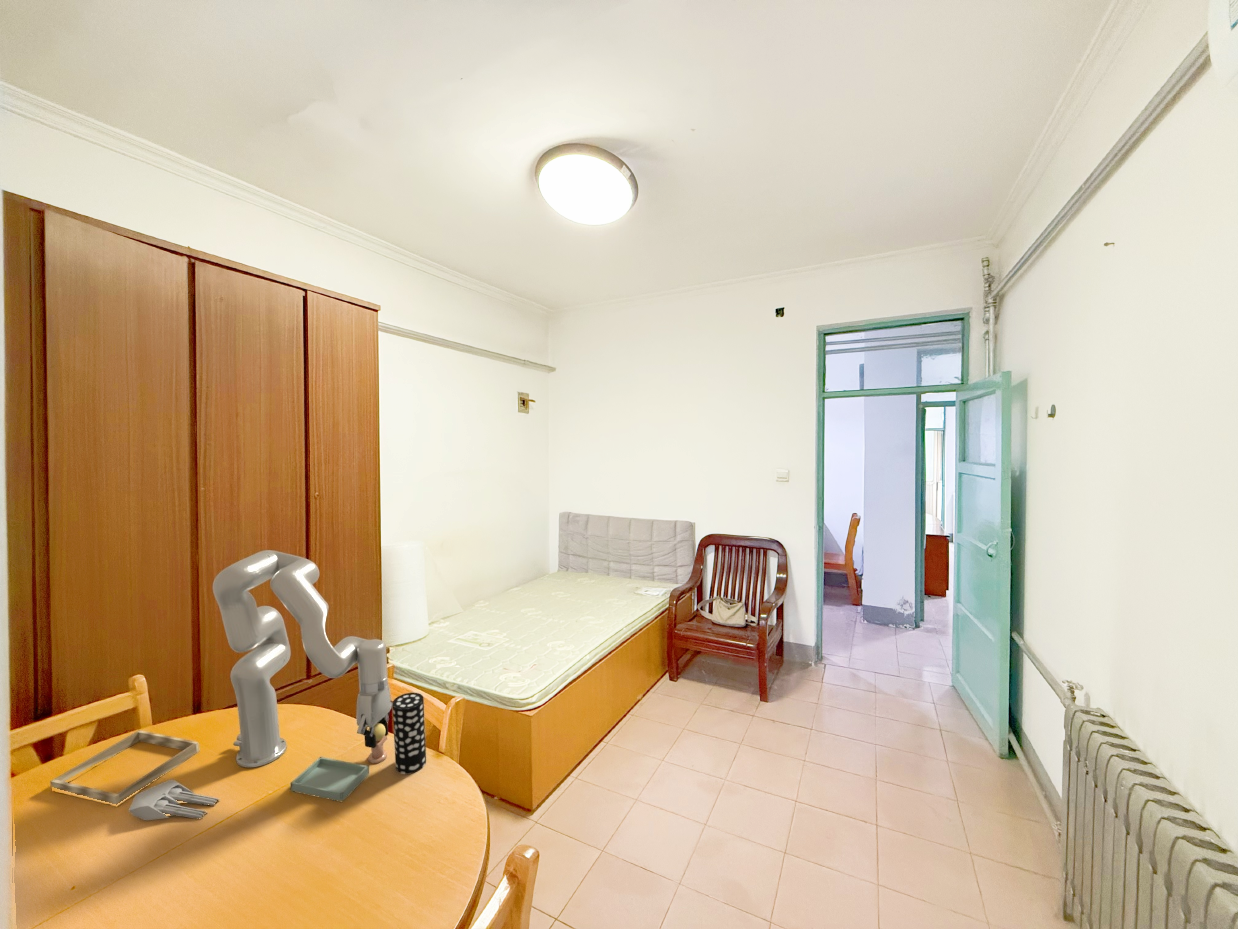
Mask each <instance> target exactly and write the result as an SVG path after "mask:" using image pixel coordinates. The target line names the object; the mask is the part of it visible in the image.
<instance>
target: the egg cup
mask: <svg viewBox="0 0 1238 929" xmlns="http://www.w3.org/2000/svg"><path fill="white" fill-rule="evenodd" d="M387 740H388V735H387V736H384V737H383V738H382V739H381V740H380V741H377V742H376V747H375V748H371V752H370V754H369V755H368V762H369V763H370V764H379V763H382V762H384V761H385V760H386V759H387V758H388V752H387V751H386V750H385V749H384V743H385V742H386V741H387Z"/></svg>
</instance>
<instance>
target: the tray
mask: <svg viewBox="0 0 1238 929" xmlns="http://www.w3.org/2000/svg"><path fill="white" fill-rule="evenodd" d="M369 775H370V766H369V765H365V764H360V763H359V764H358V763H354V762H349V761H344V760H338V759H334V758H328V757H324V756H319V757H318V758H317V759H316V760H315V761H314V762H312V763H311V764H310V765H309V766H308V767H307V768H306V769H305V770H303V771H302V772H301V773H300V774H299V775H298V776H297V777H296V778H295V779H293V780H292V781H291V782H290V791H291V792H293V791H295V792H294V793H298V792H300V793H299V794H302V793H305V794H304V795H307V794H309V795H308V796H311V795H315V796H314V797H316V796H319V797H318V798H321V797H323V798H322V799H325V798H329V799H328V800H330V799H333V800H332V801H335V800H338V801H337V802H339V801H343V800H344V799H345V798H348V797H349V795H350V794H351V793H352V792H353V791H354V790H356V788H357V787H359V785H360V784H361V783H362V782H363V781H364V780H366V778H367V777H368V776H369ZM345 800H346V799H345ZM345 800H344V801H345ZM344 801H343V802H344Z"/></svg>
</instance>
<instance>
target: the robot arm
mask: <svg viewBox="0 0 1238 929" xmlns="http://www.w3.org/2000/svg"><path fill="white" fill-rule="evenodd" d="M319 577H320V570H319V567H318V565H316V563H315V562H314V561H311V559H309V558H308V559H307V558H306V557H302V556H299V555H294V554H290V553H287V552H286V553H285V552H281V551H277V550H273V549H272V550H271V549H268V550H267V549H266V550H265V549H264V550H261V551H258V552H256V553H254V554H252V555H249V556H248V557H245V558H242V559H241V560H238V561H236V562H235V563H231V564H230V565H228V566H227V567H225V568H224V569H222V570H221V571H220V572H219V573H218V574H217V575H216V576H215V577H214V580H213V583H212V592H213V596H214V598H215V600H216V604H217V605H218V607H219V611H220V614H221V619H222V624H223V628H224V631H225V635H226V638H227V642H228V645H229V647H230V648H231V650H232V651H234V652H236V653H238V654H239V653H241V654H242V653H246V652H248V653H246V654H245V655H243V657H241V658H240V659H239V660H238V661H236V662H235V664H234V666H233V667H232V669H231V671H230V681H231V684H232V687H233V690H234V694H235V699H236V704H237V712H238V722H239V724H238V725H239V732H240V733H239V734H238V735H237V736H236V740H235V741H233V743H232V745H233V746H234V747H239V751H238V752H237V754H236V757H235V758H236V759H235V760H236V764H237V765H238V766H240V767H241V768H250V769H251V768H257V767H262V766H265V765H267V764H271V763H272V762H274V761H275V760H277V759H278V758H280V757H281V756H282V755H283V754H284V752H286V749H287V748H288V747H287V746H288V745H287V741H286V740H285V739H284V738H283V737H281V736H280V735H281V733H280V724H279V711H278V701H277V693H276V690H275V688H274V686H272V684H271V681H270V680H271V678H272V677H273V676H274V675H276V673H278V672H279V671H280V670H282V669H283V667H285V666H286V665H287V663H288V662H289V661H290V659H291V654H292V653H291V652H292V651H291V645H290V642H289V637H288V632H287V629H286V625H285V620H284V618H283V616H282V614H281V613H280V612H279V610H277V609H276V608H275V607H272V606H269V605H261V606H258V604H257V602H256V599H255V597H254V596H253V595H252V593H251V592H250V590H251V589H254V588H256V587H258V586H259V585H262V584H263V583H265V582H267V581H269V580H270V582H269V583H270V584H269V585H270V586H269V587H270V589H271V590H272V592H273V593H274V595H275V596H276V598H278V600H279V601H280V602H281V603H282V604H283V606H284V607H285V608H286V609H287V611H288V612H289V613H290V614H291V616H292V617H293V618H294V619H295V620H296V622H297V623H298V625H299V626H300V635H301V641H302V645H303V649H304V652H305V654H306V656H307V657H308V659H309V660H310V662H311V663H312V664H313V665H314V667H315V668H316V669H317V670H318V672H320V673H321V674H322V675H324V676H326V677H328V678H330V679H337V678H340V677H342V676H343V675H345V674H346V673H347V672H348V671H349V670H350V669H351V668H352V667H353V666H354V665H355V664H357V668H358V669H357V670H358V671H357V672H358V683H359V685H358V689H359V692H358V694H357V698H356V699H357V700H356V725H357V726H358V728H357V730H356V734H359V735H363V736H364V746H365V747H366V748H375V747H376V738H375V734H374V727H375V724H377V723H381V724H383V725H384V726H385V729H386V733H385V736H387V737H388V735H389V723H388V722H389V720H390V718H389V716H390V714H391V710H392V709H393V706H392V703H393V701H392V696H391V689H390V684H389V682H388V681H389V680H388V664H387V663H388V661H387V660H388V659H387V646H386V643H385V641H383V640H381V639H378V638H376V639H375V638H372V639H366V638H363V637H359V636H351V635H350V636H346V637H343V639H341V640H340V641H339V642H338V643H336V645H334V646H333V645H332V644H331V642H330V640H329V638H328V637H327V634H326V621H327V617H328V612H329V609H330V607H329V604H328V602H327V601H326V600H325V599H324V598H323V597H322V595H321V594H320V592H318V590H317V589H316V588H315V586H314V584H315V583H316V582H317V581H319ZM249 651H250V652H249ZM369 728H370V731H368V729H369Z"/></svg>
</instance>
